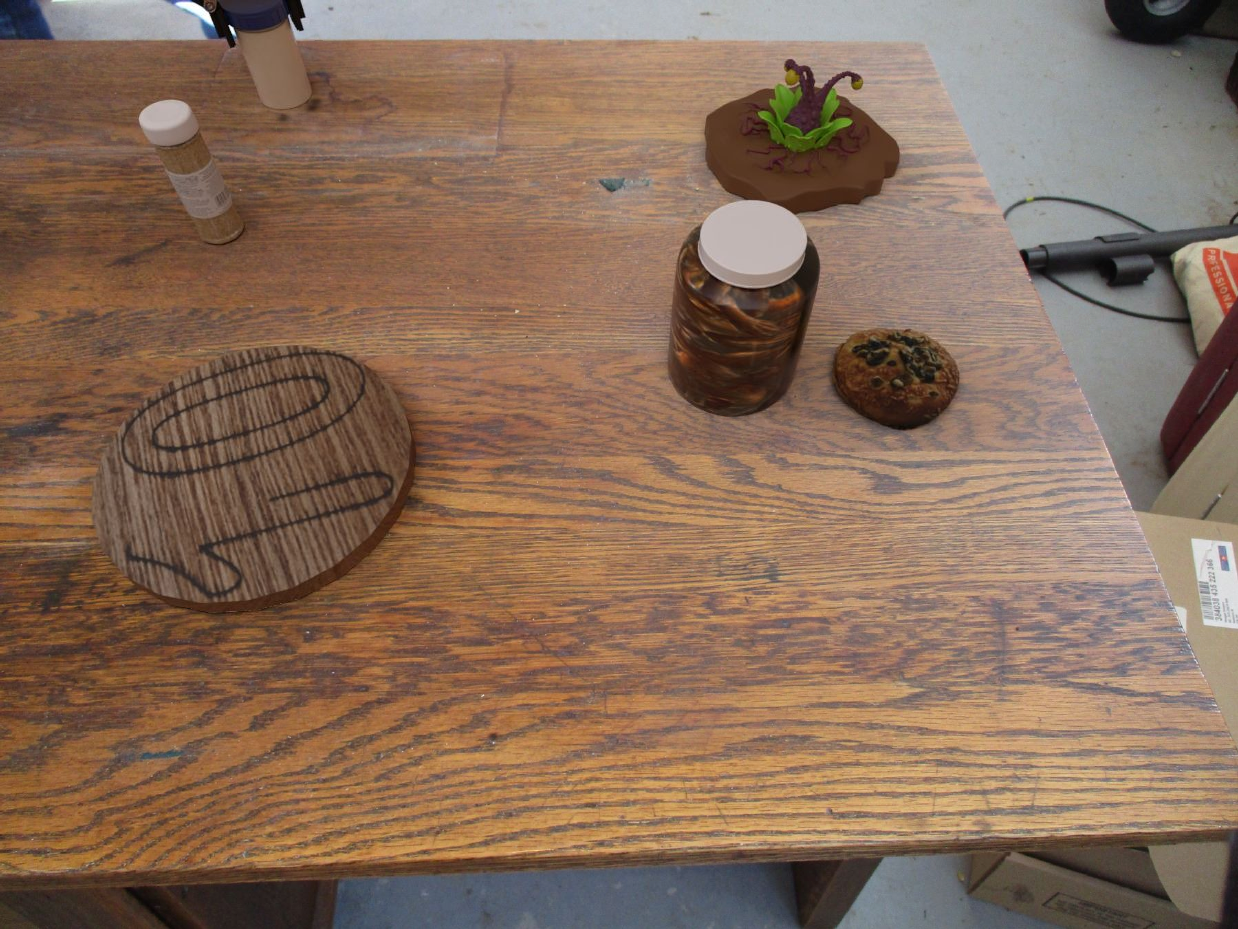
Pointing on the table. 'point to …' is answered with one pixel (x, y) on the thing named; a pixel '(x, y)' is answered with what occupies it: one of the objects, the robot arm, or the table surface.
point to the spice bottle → (192, 169)
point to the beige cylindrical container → (276, 65)
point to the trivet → (254, 478)
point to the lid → (254, 13)
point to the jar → (741, 307)
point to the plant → (799, 145)
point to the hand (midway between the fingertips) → (264, 32)
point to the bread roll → (895, 376)
